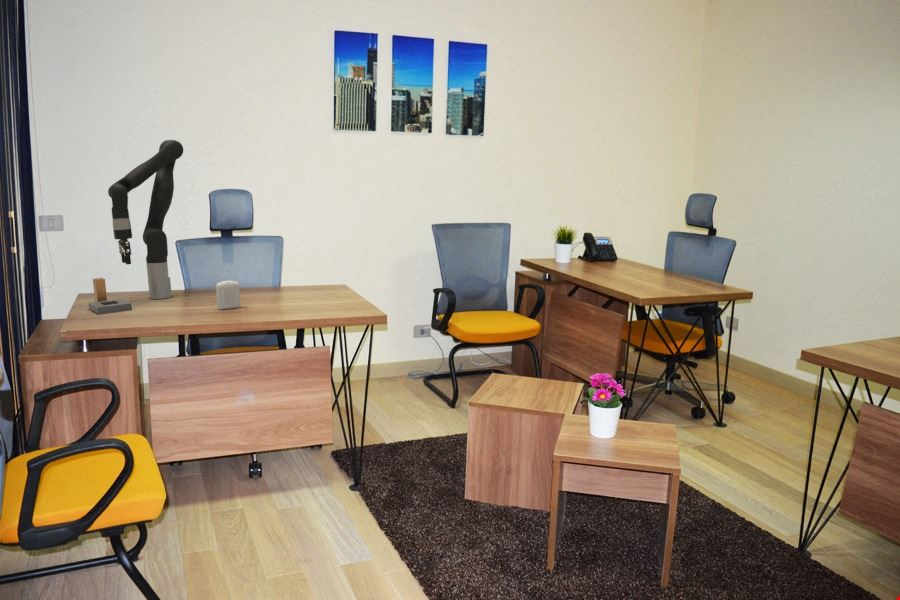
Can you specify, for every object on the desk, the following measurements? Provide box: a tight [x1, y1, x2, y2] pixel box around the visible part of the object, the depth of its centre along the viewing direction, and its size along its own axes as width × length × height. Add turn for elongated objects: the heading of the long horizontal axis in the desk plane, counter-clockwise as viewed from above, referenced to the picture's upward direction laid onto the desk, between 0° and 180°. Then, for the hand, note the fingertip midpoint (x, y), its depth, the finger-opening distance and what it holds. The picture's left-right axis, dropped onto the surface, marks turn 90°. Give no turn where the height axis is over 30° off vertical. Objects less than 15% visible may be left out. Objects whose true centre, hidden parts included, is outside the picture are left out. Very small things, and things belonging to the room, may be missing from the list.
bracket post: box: [92, 277, 108, 302], centre depth 329 cm, size 4×4×12 cm
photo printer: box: [215, 280, 241, 311], centre depth 320 cm, size 10×4×12 cm, turn 123°
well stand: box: [87, 298, 133, 315], centre depth 319 cm, size 14×14×3 cm
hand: (126, 263), depth 333 cm, fingers open, 8 cm apart
